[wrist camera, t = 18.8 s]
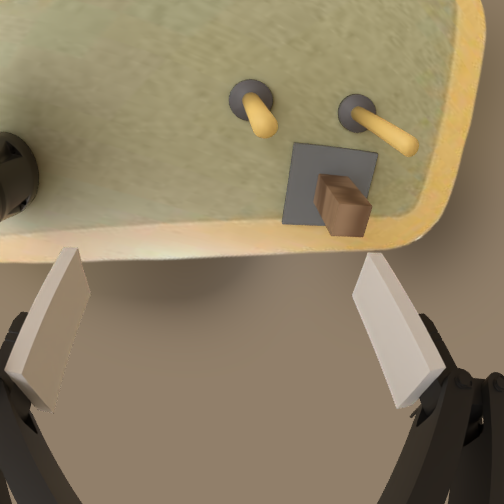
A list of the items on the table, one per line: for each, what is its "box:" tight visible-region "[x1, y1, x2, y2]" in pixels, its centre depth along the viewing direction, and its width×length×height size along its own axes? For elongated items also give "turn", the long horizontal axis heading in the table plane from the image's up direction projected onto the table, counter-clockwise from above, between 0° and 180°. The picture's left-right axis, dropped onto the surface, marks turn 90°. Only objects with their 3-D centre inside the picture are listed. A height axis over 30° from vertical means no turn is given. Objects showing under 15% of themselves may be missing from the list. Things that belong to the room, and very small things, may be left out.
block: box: [313, 174, 372, 237], centre depth 46 cm, size 5×5×10 cm
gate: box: [229, 79, 419, 157], centre depth 36 cm, size 22×6×16 cm, turn 85°
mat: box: [282, 143, 378, 226], centre depth 50 cm, size 14×14×1 cm
